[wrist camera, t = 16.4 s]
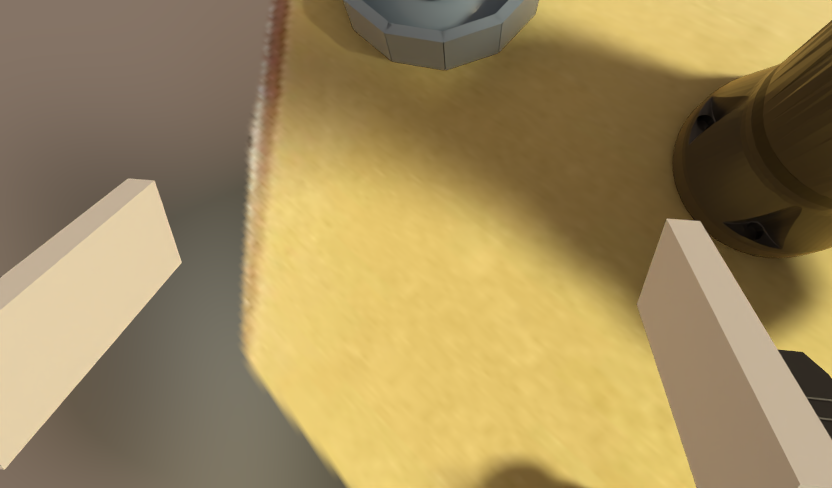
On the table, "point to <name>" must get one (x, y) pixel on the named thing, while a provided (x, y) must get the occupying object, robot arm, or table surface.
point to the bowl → (439, 28)
